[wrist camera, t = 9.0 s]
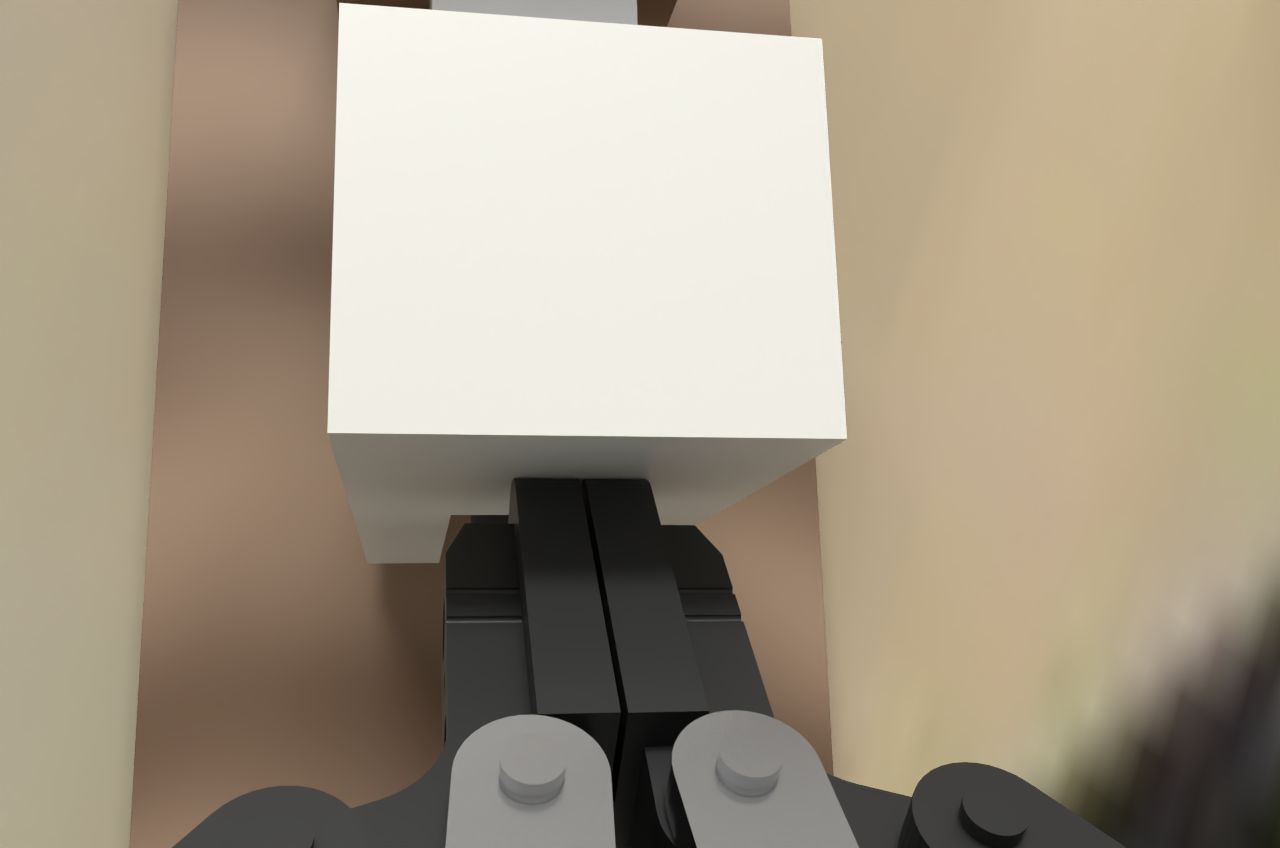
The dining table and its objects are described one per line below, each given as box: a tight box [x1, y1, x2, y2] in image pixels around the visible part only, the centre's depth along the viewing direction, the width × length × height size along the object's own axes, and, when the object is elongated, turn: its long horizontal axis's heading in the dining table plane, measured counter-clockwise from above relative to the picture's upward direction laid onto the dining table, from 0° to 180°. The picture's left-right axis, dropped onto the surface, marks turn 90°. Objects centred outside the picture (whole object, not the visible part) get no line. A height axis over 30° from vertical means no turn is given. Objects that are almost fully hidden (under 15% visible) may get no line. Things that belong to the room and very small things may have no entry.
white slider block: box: [327, 3, 847, 564], centre depth 16 cm, size 4×5×11 cm
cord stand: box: [129, 0, 833, 848], centre depth 18 cm, size 32×12×10 cm, turn 1°
